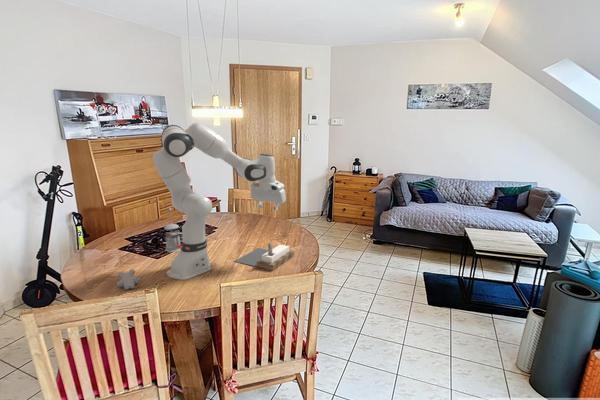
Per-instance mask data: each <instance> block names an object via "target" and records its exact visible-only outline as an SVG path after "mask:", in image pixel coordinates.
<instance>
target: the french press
mask: <svg viewBox="0 0 600 400" xmlns="http://www.w3.org/2000/svg"><path fill="white" fill-rule="evenodd" d="M172 210H173V209H172V208H171V207H169V208H168V211H172ZM171 215H172V214H171V212H169V216H170V219H172V217H171ZM179 227H180V226H179V224H176V223H169V224H166V225H164V227H163V228H164V230H168V231H169V232H166V233H165V239H164V240H165V245H166V247H165V249H164V251H165V252H166V251H167V252H166V253H177V252H180V251H181V249H179V248H177V245H178V244H179V245H181V241H182V239H181V235H182V233H181V232H180V230H179V229H178V228H179ZM176 229H177V230H176ZM174 230H175V231H174Z"/></svg>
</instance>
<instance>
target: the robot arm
mask: <svg viewBox="0 0 600 400" xmlns="http://www.w3.org/2000/svg"><path fill="white" fill-rule="evenodd" d="M161 147H162V148H159V150H157V151H155V153H154V154H153V156H152V161H153V164H154V167H155V169H156V171H157V173H158V175H159V176H160V178H161V180H162V181H163V183H164V184H165V186H166V188H167V189H168V191H169V194H170V195H171V196H170V197H171V205H172V207H173V208H174V209H175V210H177V211H178V212H180V213H182V214H185V217H186V218H185V223H184V224H183V225H182V227H181V232H182V233H181V236H182V243H181V244H180V245H179V244H178V243H177V244H178V245H177V248H179V249H181V250H180V251H178V254H177V255H176V256H175V257H174V258H173V260H171V263H170V264H171V265H170V269H169V270H167V271H166V276H167V277H169V278H172V279H175V280H179V281H180V280H182V281H184V280H189V279H191V278H194V277H197V276H199V275H202V274H203V273H206V272H208V271H211V270H212V267H211V266H212V264H211V261H210V259H209V253H208V250H207V249H208V248H207V247H208V242H207V238H206V221H207V218H208V216H209V215H210V214H211V212H212V210H213V202H212V200H211V199H210V198H209V197H207V196H205V195H203V194H201V193H195V191H193V190H192V188H191V178H190V176H189V174H188V173H187V170H186V169H185V167H184V166H183V164H182V162H181V160H180V158H182V157H183V156H185V155H186V154H187V153H189V152H190V151H191V150H193V149H194V148H196V149H197V150H199V151H201V152H202V153H203V154H205V155H207V156H208V157H211V158H213V159H220V160H222V161H224V163H227V164H228V165H230V166H231V167H232V168H233V170H234V171H235V173H236V174H237V175H238V176H240V177H242V178H243V179H245V180H247V181H248V182H252V183H251V185H250V189H251V190H250V198H251V199H252V200H254V201H255V200H256V202H257V205H258V207H259V209H262V208H263V207H264V204H263V203H262V202H268V203H274V205H275V206H273V210H274V211H278V209H279V206H280V205H283V204H284V203H285V202H286V201H287V196H286V190H285V189H284V188H285V183H282V182H280V181H278V180H277V179H276V162H275V157H274V156H273V155H272V154H268V153H260V154H259V155H258V156H257V157H255V158H254V159H253V160H251V159H248V158H246V157H242V156H239V155H238V154H236V153H235V152H233V151H232V150H231V149H230V148H229V147H228V142H227V141H226V140H225V139H224V138H223V137H222V136H221V135H220V134H219V133H217V132H216V131H214V130H213V129H211V128H210V127H208V126H206V125H204V124H202V123H200V122H193V123H192V124H190V126H188V128H187V129H183V128H182V127H181V126H179V125H176V124H171V125H170V124H169V125H167V126H165V128H164V129H163V130H162V133H161ZM257 181H258V182H257Z"/></svg>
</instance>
